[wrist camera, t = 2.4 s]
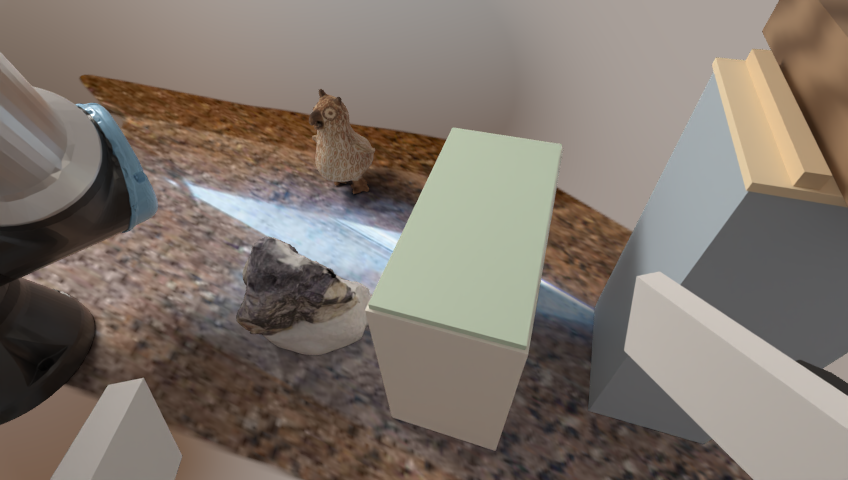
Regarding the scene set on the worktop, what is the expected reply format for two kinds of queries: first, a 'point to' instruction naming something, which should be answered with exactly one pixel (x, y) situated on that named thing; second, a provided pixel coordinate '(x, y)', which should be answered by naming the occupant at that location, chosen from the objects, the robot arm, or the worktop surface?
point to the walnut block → (816, 72)
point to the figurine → (339, 144)
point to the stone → (300, 301)
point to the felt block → (466, 285)
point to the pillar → (733, 239)
